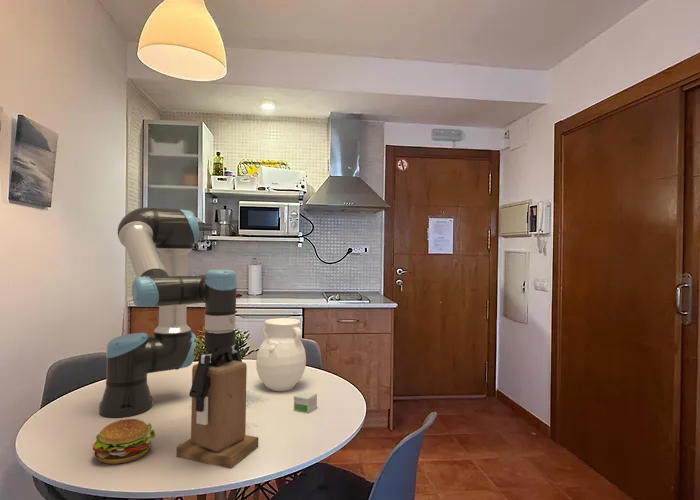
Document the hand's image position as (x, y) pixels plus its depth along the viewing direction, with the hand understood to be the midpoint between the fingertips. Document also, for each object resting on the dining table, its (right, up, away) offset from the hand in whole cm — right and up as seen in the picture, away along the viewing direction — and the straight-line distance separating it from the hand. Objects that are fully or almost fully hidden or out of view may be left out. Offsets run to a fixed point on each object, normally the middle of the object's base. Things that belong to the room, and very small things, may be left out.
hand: (219, 414), depth 111 cm
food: (-23, -9, -2) cm, 25 cm away
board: (0, -10, 0) cm, 10 cm away
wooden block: (0, -7, 0) cm, 7 cm away
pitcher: (+8, -10, +52) cm, 54 cm away
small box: (+19, -10, +30) cm, 37 cm away
